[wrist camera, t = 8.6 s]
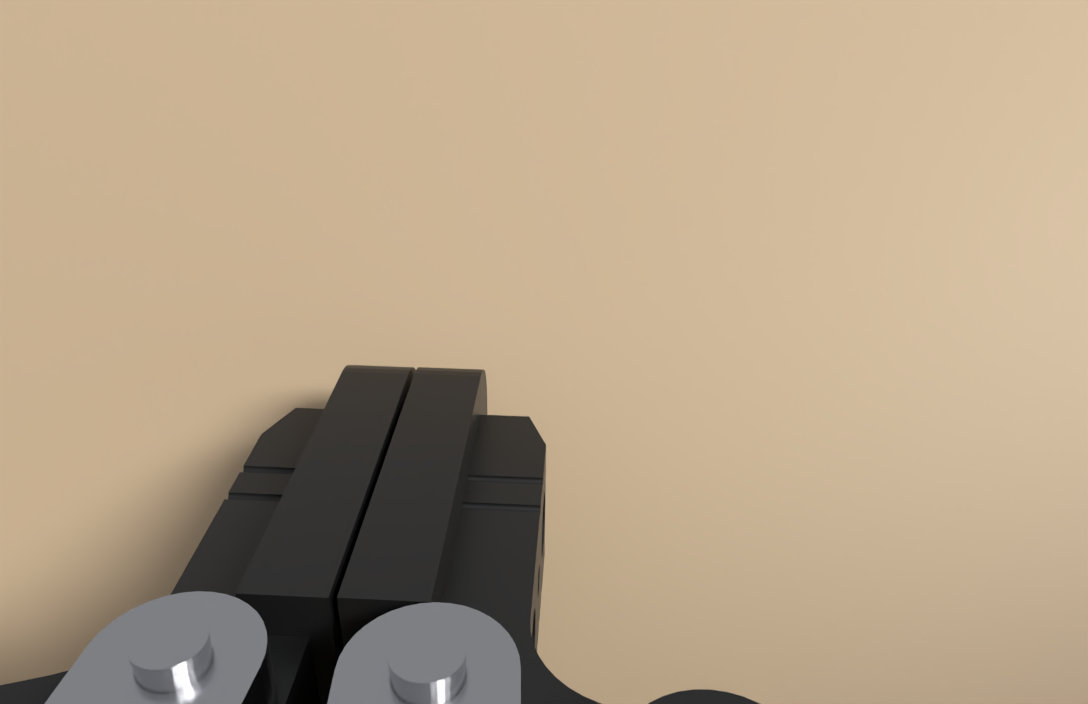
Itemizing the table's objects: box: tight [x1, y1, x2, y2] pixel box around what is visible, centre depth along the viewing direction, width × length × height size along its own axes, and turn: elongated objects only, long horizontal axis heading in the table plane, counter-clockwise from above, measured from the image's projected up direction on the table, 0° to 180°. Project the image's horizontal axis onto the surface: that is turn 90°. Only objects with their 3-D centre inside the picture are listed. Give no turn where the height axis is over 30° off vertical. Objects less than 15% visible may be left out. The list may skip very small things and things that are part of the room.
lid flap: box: [0, 0, 1088, 704], centre depth 11 cm, size 18×14×1 cm
